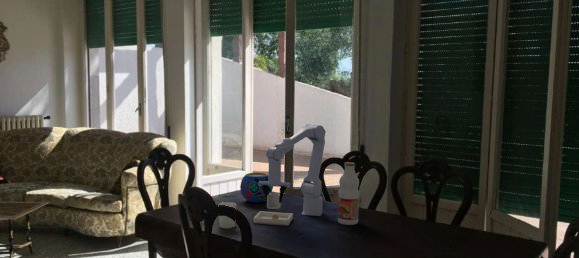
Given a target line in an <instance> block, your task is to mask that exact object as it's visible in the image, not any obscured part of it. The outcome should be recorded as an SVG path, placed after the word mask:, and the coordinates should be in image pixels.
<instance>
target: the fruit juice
mask: <svg viewBox="0 0 579 258" xmlns="http://www.w3.org/2000/svg"><path fill="white" fill-rule="evenodd" d="M343 165H344V170H343V173H342V175H341V176H340V178H339V181H338V184H339V190H338V204H337V205H338V206H337V222H338V223H339V224H341V225H347V226H353V225H354V226H355V225H357V224H359V223H358V222H359V211H360V209H359V207H360V206H359V205H360V192H359V186H360V185H359V184H360V179H359V178H358V176H357V174H356V170H355V167H356V163H355V162H351V161H345V162H344V164H343Z"/></svg>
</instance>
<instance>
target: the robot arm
mask: <svg viewBox="0 0 579 258" xmlns="http://www.w3.org/2000/svg"><path fill="white" fill-rule="evenodd" d="M326 132H327V131H326V130H325V128H324V126H322V125H320V124H319V125H318V124H317V125H316V124H310V123H308V124H307V123H306V124H305V125H304V126H302V127H301V129H300V130H299V131H298V132H296V133H295V134H294V135H292V136H291V137H288V138H287V137H285V138H282V141H280V142H278V143H276V144H274V146H270V147H269V148H268V149H267V151H266V153H265V154H266V158H267V161H268V174H267V175H268V181H259V186H262V190H263V191H264V194H265V197H266V200H265V202H266V203H267V195H268V194H269V186H273V187H278V188H279V194H280V203H281V204H282V203H283V198H284V195H285V192H286V189H288V188H291V182H285V181H282V177H281V176H282V160H283V159H284V157H285V154H287V153H289V152H290V151H291V150H292V149H294V147H295V145H296V144H297V143H300V142H301V141H302V140H304V139H306V138H307V139H308V140H310V141H311V143H312V145H313V146H312V151H311V156H310V162H309V165H308V173H307V175H306V176H304V177H303V181H302V183H301V185H300V191H301V193H302V195H303V209H302V210H303V211H302V212H301V215H303V216H314V217H322V214H323V200H324V199H323V196H320V195H321V194H322V190H323V187H322V183H323V182H322V180H321V179H320V178H319V177H320V171H321V167H322V161H323V160H322V159H323V156H324V155H323V154H324V150H325V145H326V140H325V137H326Z"/></svg>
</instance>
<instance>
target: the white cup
mask: <svg viewBox="0 0 579 258" xmlns="http://www.w3.org/2000/svg"><path fill="white" fill-rule="evenodd" d="M219 205H225V206H229V207H233V208H235V209H236V210H237V203H236V202H232V201H226V202H225V201H222V202H220V203H218V206H219ZM218 218H219V219H218V220H219V228H221V229H232V227H233V228H235V227H234V226H236V221H235V222H234V221H233V220H232V219H230V218H228V217H226V216H219V215H218Z"/></svg>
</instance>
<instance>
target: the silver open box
mask: <svg viewBox="0 0 579 258" xmlns="http://www.w3.org/2000/svg"><path fill="white" fill-rule="evenodd" d="M281 207H282V202H281V203H280V193H275V192H272V193H269V194H268V195H267V202H266V209H271V210H279V209H280V208H281Z"/></svg>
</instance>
